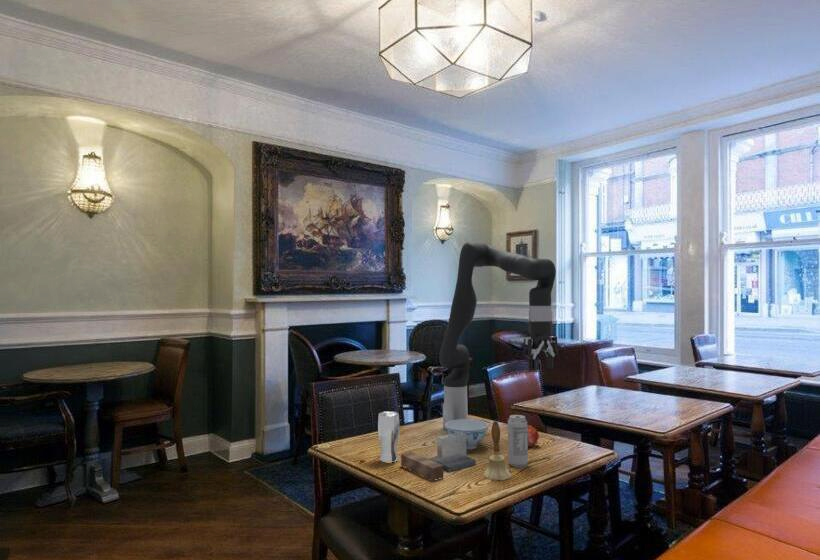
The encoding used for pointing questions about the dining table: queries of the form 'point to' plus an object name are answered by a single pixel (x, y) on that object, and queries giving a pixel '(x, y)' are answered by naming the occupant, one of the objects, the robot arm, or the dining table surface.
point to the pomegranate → (532, 435)
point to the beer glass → (388, 435)
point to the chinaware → (468, 430)
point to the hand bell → (496, 459)
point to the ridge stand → (452, 452)
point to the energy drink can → (517, 441)
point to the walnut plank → (422, 465)
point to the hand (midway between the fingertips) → (541, 369)
